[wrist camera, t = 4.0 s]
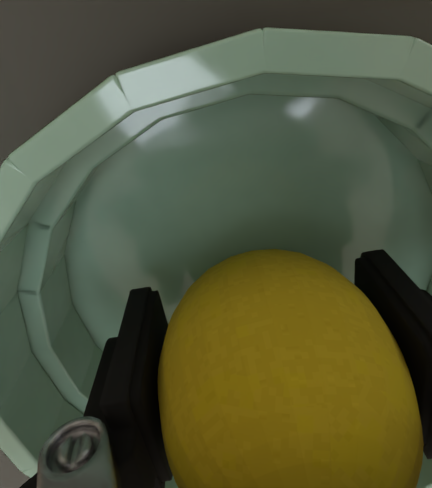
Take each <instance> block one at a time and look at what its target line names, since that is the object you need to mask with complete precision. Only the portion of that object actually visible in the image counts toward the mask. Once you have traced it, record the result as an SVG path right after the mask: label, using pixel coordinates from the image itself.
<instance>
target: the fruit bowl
mask: <svg viewBox="0 0 432 488" xmlns="http://www.w3.org/2000/svg"><path fill="white" fill-rule="evenodd" d="M265 249H280V250H287V251H293V252H300V253H302V254H305V255H307V256H309V257H312V258H314V259H316V260H319V261H321V262H324V263H326V264H328V265H329V266H331V267H332V268H334V269H335V270H337V271H338V272H339V273H340V274H342V275H343V276H344V277H345V278H347V279H348V280H349V281H350V282H352V283H353V284H354V274H355V259H356V258H360V256H361V253H362V252H367V251H373V250H380V249H383V250H385V251H386V252H387V253H388V255H389V256H390V257H391V258H392V259H393V260H394V261H395V262H396V263H397V264H398V265H399V267H400V268H401V269H402V270H403V271H404V272H405V273H406V274H407V275H408V276H409V277H410V278H411V280H412V281H413V282H414V283H415V284H416V285H417V286H418V287H419V288H420V289H423V290H426V291H427V292H428V293H430V295H431V296H432V44H430V43H428V42H426V41H424V40H422V39H420V38H414V37H412V36H406V35H389V34H373V33H356V32H339V31H322V30H305V29H289V28H272V27H265V28H261V29H260V28H257V29H254V30H250V31H247V32H244V33H240V34H237V35H234V36H230V37H227V38H224V39H221V40H217V41H214V42H211V43H208V44H204V45H201V46H198V47H195V48H191V49H188V50H185V51H182V52H178V53H175V54H172V55H169V56H165V57H162V58H159V59H156V60H152V61H149V62H146V63H143V64H140V65H137V66H133V67H130V68H127V69H124V70H121V71H118V72H117V73H116V74H114V75H111V76H109V77H108V78H107V79H105V80H104V81H103V82H101V83H100V84H99V85H98V86H96V87H95V88H94V89H92V90H91V91H90V92H89V93H87V94H86V95H85V96H83V97H82V98H81V99H80V100H78V101H77V102H76V103H74V104H73V105H72V106H71V107H69V108H68V109H67V110H65V111H64V112H63V113H62V114H60V115H59V116H58V117H56V118H55V119H54V120H53V121H51V122H50V123H49V124H47V125H46V126H45V127H44V128H42V129H41V130H40V131H38V132H37V133H36V134H35V135H33V136H32V137H31V138H29V139H28V140H27V141H26V142H24V143H23V144H22V145H20V146H19V147H18V148H17V149H15V150H14V151H13V152H11V153H10V154H9V156H8V158H7V159H5V160H4V161H3V163H2V165H1V166H0V449H1V450H2V451H3V453H4V454H5V455H6V456H7V457H8V458H9V459H10V460H11V462H12V463H13V464H14V465H15V466H16V467H17V468H18V469H19V471H22V473H23V474H25V475H26V476H28V477H29V478H31V477H33V476H34V475H35V474H36V473H37V464H38V458H39V453H40V451H41V449H42V447H43V445H44V443H45V441H46V440H47V439H48V438H49V436H50V435H51V434H52V433H53V432H54V431H55V430H56V429H58V428H59V427H60V426H61V425H63V424H65V423H66V422H68V421H70V420H72V419H76V418H79V417H83V415H84V412H85V408H86V405H87V402H88V399H89V395H90V392H91V389H92V386H93V382H94V379H95V376H96V373H97V369H98V366H99V363H100V360H101V356H102V353H103V350H104V347H105V344H106V341H107V340H108V339H109V338H112V337H118V333H119V330H120V326H121V322H122V319H123V315H124V311H125V308H126V304H127V300H128V297H129V293H130V290H132V289H137V288H144V287H151V289H152V291H156V290H158V292H159V294H160V298H161V301H162V305H163V308H164V312H165V315H166V319H167V322H168V324H169V322H170V319H171V316H172V314H173V313H174V311H175V309H176V307H177V306H178V304H179V302H180V301H181V299H182V298H183V296H184V294H185V293H186V291H187V290H188V288H189V287H190V286H191V285H192V284H193V283H194V282H195V281H196V280H197V279H198V278H199V277H200V276H201V275H203V274H204V273H205V272H206V271H207V270H208V269H209V268H211V267H213V266H215V265H216V264H218V263H220V262H222V261H224V260H225V259H227V258H229V257H231V256H234V255H238V254H241V253H245V252H248V251H251V250H265ZM165 488H178V486H177V484H176V482H175V480H174V477H173V476H172V480H171V481H165ZM416 488H432V459H427V457H426V456H425V454H424V452H423V460H422V467H421V471H420V475H419V480H418V484H417V487H416Z"/></svg>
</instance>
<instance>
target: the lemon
mask: <svg viewBox="0 0 432 488" xmlns="http://www.w3.org/2000/svg"><path fill="white" fill-rule="evenodd" d="M157 383H158V401H159V411H160V420H161V429H162V436H163V442H164V447H165V451H166V455H167V459H168V463H169V466H170V469H171V472H172V474H173V477H174V480H175V482H176V484H177V486H178V488H416V487H417V484H418V480H419V475H420V471H421V467H422V460H423V446H424V442H423V433H422V424H421V419H420V413H419V408H418V403H417V398H416V394H415V390H414V386H413V382H412V379H411V376H410V373H409V369H408V367H407V364H406V362H405V359H404V356H403V354H402V352H401V350H400V348H399V346H398V344H397V341H396V340H395V338H394V336H393V335H392V333H391V331H390V330H389V328H388V326H387V325H386V323H385V322H384V320H383V319H382V317H381V316H380V314H379V313H378V311H377V309H376V308H375V307H374V305H373V304H372V303H371V301H370V300H369V299H368V298H367V297H366V295H365V294H364V293H363V292H362V291H361V290H360V289H359V288H358V287H356V286H355V285H354V284H353V283H352V282H350V281H349V280H348V279H347V278H345V277H344V276H343V275H342V274H340V273H339V272H338V271H337V270H335V269H334V268H332V267H331V266H329V265H328V264H326V263H324V262H321V261H319V260H316V259H314V258H312V257H309V256H307V255H305V254H302V253H300V252H293V251H287V250H280V249H265V250H251V251H248V252H245V253H241V254H238V255H234V256H231V257H229V258H227V259H225V260H224V261H222V262H220V263H218V264H216V265H215V266H213V267H211V268H209V269H208V270H207V271H206V272H205V273H204V274H203V275H201V276H200V277H199V278H198V279H197V280H196V281H195V282H194V283H193V284H192V285H191V286H190V287H189V288H188V290H187V291H186V293H185V294H184V296H183V298H182V299H181V301H180V302H179V304H178V306H177V307H176V309H175V311H174V313H173V314H172V316H171V319H170V322H169V324H168V328H167V332H166V335H165V339H164V343H163V347H162V351H161V355H160V360H159V366H158V381H157Z"/></svg>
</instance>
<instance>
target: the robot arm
mask: <svg viewBox="0 0 432 488" xmlns="http://www.w3.org/2000/svg"><path fill="white" fill-rule="evenodd" d="M354 285H355V286H356V287H358V288H359V289H360V290H361V291H362V292H363V293H364V294H365V295H366V297H367V298H368V299H369V300H370V301H371V303H372V304H373V305H374V307H375V308H376V309H377V311H378V313H379V314H380V316H381V317H382V319H383V320H384V322H385V323H386V325H387V326H388V328H389V330H390V331H391V333H392V335H393V336H394V338H395V340H396V341H397V344H398V346H399V348H400V350H401V352H402V354H403V356H404V359H405V362H406V364H407V367H408V369H409V373H410V376H411V379H412V382H413V386H414V390H415V394H416V398H417V403H418V408H419V413H420V419H421V424H422V433H423V442H424V446H423V452H424V454H425V456H426V457H427V459H432V296H431V295H430V293H428V292H427V291H426V290H423V289H420V288H419V287H418V286H417V285H416V284H415V283H414V282H413V281H412V280H411V278H410V277H409V276H408V275H407V274H406V273H405V272H404V271H403V270H402V269H401V268H400V267H399V265H398V264H397V263H396V262H395V261H394V260H393V259H392V258H391V257H390V256H389V255H388V253H387V252H386V251H385V250H383V249H380V250H373V251H367V252H362V253H361V256H360V258H356V259H355V274H354ZM167 328H168V322H167V319H166V315H165V312H164V308H163V305H162V301H161V298H160V294H159V292H158V290H156V291H152V289H151V287H144V288H137V289H132V290H130V293H129V297H128V300H127V304H126V308H125V311H124V315H123V319H122V322H121V326H120V330H119V333H118V337H112V338H109V339H108V340H107V341H106V344H105V347H104V350H103V353H102V356H101V360H100V363H99V366H98V369H97V373H96V376H95V379H94V382H93V386H92V389H91V392H90V395H89V399H88V402H87V405H86V408H85V412H84V415H83V417H79V418H76V419H72V420H70V421H68V422H66V423H65V424H63V425H61V426H60V427H59V428H58V429H56V430H55V431H54V432H53V433H52V434H51V435H50V436H49V438H48V439H47V440H46V441H45V443H44V445H43V447H42V449H41V451H40V453H39V458H38V464H37V473H36V474H35V475H34V476H33V477H31V478H30V479H29V480H28V481H27V482H25V483H24V484H23V485H22V486H21V487H20V488H165V481H171V480H172V476H173V474H172V472H171V469H170V466H169V463H168V459H167V455H166V451H165V447H164V442H163V436H162V429H161V420H160V411H159V401H158V383H157V381H158V366H159V360H160V355H161V351H162V347H163V343H164V339H165V335H166V332H167Z"/></svg>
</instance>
